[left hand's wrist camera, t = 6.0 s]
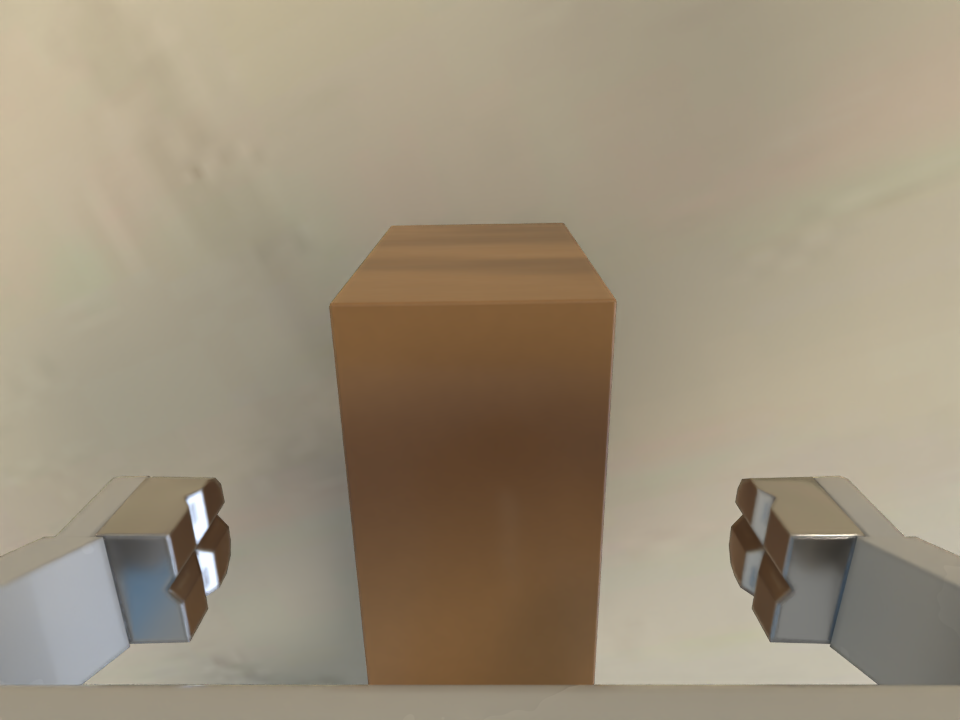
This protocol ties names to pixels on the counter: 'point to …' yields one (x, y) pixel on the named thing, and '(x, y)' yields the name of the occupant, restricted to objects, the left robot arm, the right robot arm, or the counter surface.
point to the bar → (476, 452)
